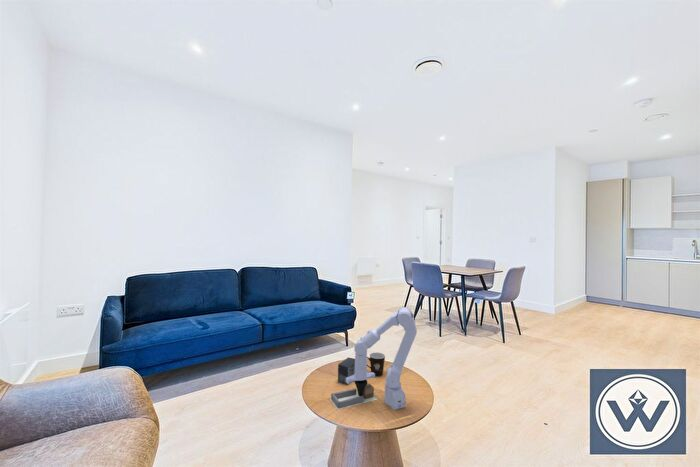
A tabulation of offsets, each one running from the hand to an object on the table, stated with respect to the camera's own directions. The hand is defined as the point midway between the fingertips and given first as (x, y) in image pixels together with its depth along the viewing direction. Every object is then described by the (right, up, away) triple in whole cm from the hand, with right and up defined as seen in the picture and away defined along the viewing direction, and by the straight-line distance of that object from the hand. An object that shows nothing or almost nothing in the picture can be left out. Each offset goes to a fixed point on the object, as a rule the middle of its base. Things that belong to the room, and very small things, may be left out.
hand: (360, 395), depth 140 cm
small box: (-6, -2, +17) cm, 18 cm away
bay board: (-3, -2, -1) cm, 4 cm away
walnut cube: (+3, -1, +2) cm, 4 cm away
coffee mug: (+9, -3, +28) cm, 29 cm away
